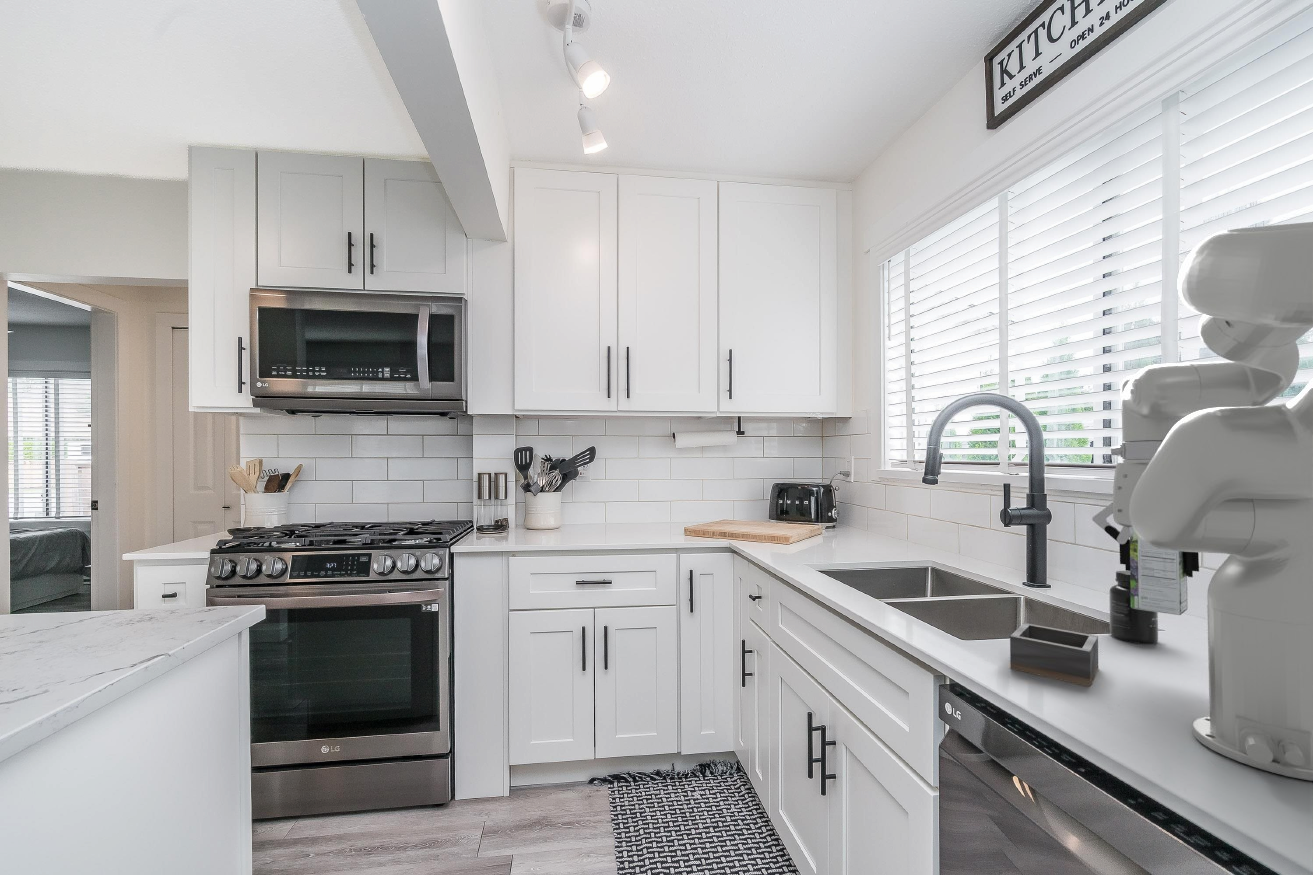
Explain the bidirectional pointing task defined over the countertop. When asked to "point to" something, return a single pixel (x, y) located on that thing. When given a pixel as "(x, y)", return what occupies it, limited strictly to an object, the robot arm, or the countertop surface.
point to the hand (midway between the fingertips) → (1158, 571)
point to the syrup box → (1157, 578)
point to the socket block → (1054, 653)
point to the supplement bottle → (1130, 614)
